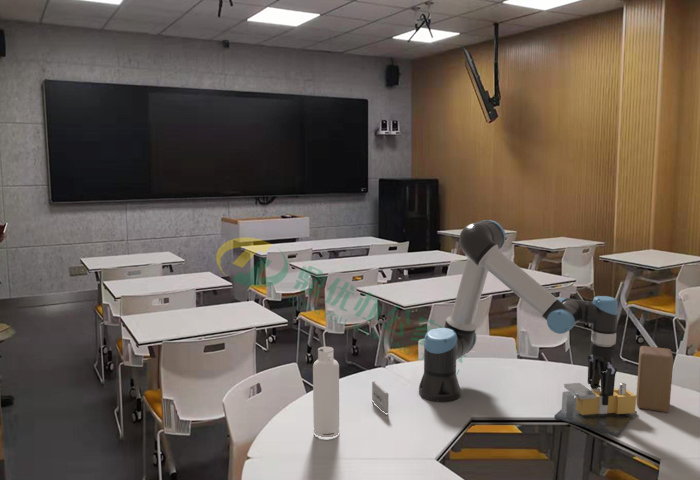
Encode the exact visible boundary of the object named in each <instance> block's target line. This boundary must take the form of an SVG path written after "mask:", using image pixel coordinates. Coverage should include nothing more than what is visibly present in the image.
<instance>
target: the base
mask: <svg viewBox="0 0 700 480" xmlns="http://www.w3.org/2000/svg"><path fill="white" fill-rule="evenodd" d="M618 386H619V388H618V389H619V395H625V393H626V389H627V384H626V383H625V382H619V385H618ZM576 399H577V397H576V396H574V410H573V418H565V417H564V416H563V415H561V413H562V408H561V409H560V410H559V411H557V413H555V414H554V419H557V420H560V421H562V422H566V423H569V424H573V425H577V426H580V427H583V428H586V429H589V430H593V431H597V432H599V433H603V434H607V435H610V436H612V437H616V438H617V437H618V436H619V435H620V434H621V433H622V432H623V431H624V430H625V429H626V428H627V426H628V425H629V424H630V423H631V422H632V421H633V419H635V417H636V416H637V415H638V411H637V410H635V413H626V414H616V413H606V414H588V415H582V414H580V413H579V412H578V411H577V410H576ZM630 421H631V422H630Z"/></svg>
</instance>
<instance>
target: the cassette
mask: <svg viewBox="0 0 700 480" xmlns="http://www.w3.org/2000/svg"><path fill="white" fill-rule="evenodd" d="M371 385H372V387H371V399H372V400H373V401H374V403H375V404H376V405H377V406H378V407H379V408H380V409H381V410H382V411H384V412H385V413H388V414H389V392H388V391H386V390H385V389H384V388H383V387H382V386H380V384H378V383H377V382H376V381H372V382H371ZM372 400H371V401H372Z"/></svg>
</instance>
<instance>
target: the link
mask: <svg viewBox="0 0 700 480" xmlns="http://www.w3.org/2000/svg"><path fill="white" fill-rule="evenodd" d="M593 393H594V394H596V398H592V399H579V398H578V397H577V399H576V410H577V411H578V412H579V413H580V414H582V415H588V414H599V413H598V410H599V394H601V390H600V391H598V392H593ZM636 406H637V400H636V394H634V393H633V392H631V391H630V390H628V389H627V388H626V393H625V395H619V388H614V394H613V396H609V398H608V408H607V413H616V414H626V413H635V411H636Z"/></svg>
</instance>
